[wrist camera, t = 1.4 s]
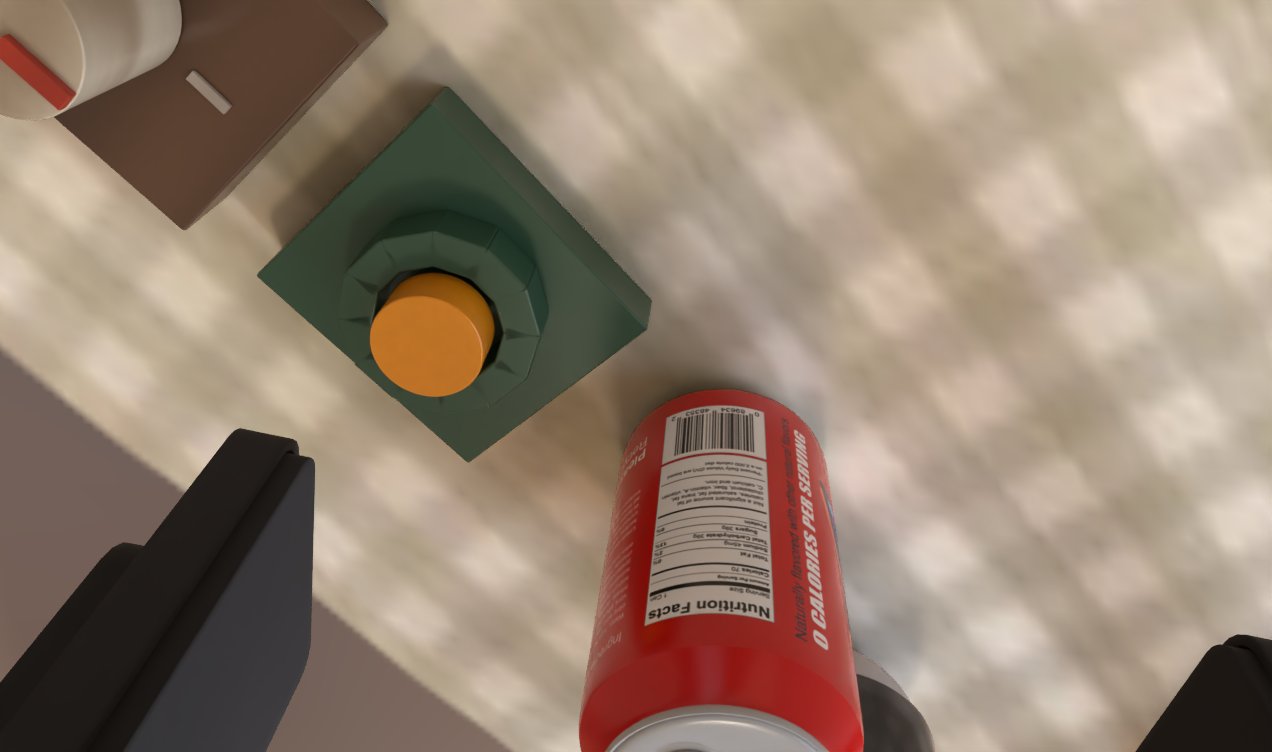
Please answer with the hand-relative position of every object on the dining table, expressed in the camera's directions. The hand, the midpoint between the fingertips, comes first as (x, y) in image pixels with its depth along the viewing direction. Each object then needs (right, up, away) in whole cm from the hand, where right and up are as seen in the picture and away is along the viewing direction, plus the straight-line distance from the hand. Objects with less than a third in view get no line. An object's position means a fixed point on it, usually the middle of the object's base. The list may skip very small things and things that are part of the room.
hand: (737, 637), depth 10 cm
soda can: (+2, 0, +28) cm, 28 cm away
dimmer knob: (-16, +13, +18) cm, 27 cm away
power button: (-7, +4, +22) cm, 23 cm away
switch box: (-7, +6, +25) cm, 27 cm away
